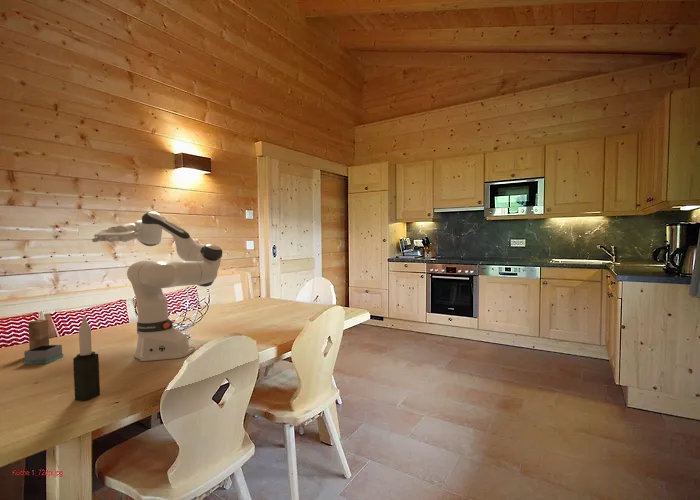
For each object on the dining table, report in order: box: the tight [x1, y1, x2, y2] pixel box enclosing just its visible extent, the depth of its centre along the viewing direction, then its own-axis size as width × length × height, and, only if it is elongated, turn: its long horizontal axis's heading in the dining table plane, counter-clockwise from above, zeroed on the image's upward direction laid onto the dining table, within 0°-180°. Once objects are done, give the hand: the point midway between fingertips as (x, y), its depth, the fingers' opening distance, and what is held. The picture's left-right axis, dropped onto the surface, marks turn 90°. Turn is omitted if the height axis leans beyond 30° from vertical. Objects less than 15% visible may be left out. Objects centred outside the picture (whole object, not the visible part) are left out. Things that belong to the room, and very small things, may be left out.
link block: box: [27, 319, 50, 350], centre depth 150 cm, size 4×4×14 cm
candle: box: [72, 316, 101, 402], centre depth 108 cm, size 5×5×25 cm
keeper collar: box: [23, 344, 64, 365], centre depth 142 cm, size 9×9×5 cm
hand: (101, 240), depth 170 cm, fingers open, 8 cm apart
